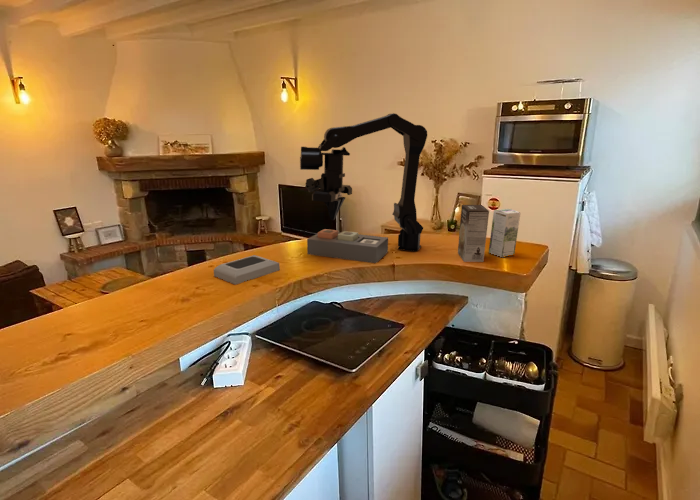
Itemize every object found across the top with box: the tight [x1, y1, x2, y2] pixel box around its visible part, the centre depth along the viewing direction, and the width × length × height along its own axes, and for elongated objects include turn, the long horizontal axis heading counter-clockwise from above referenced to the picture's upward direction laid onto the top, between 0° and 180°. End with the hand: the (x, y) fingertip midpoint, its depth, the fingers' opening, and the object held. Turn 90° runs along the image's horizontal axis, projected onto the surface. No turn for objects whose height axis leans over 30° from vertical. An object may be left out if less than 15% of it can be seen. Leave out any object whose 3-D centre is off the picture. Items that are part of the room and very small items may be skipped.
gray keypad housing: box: [306, 231, 389, 264], centre depth 134 cm, size 23×12×5 cm, turn 69°
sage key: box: [338, 230, 359, 242], centre depth 133 cm, size 5×5×3 cm
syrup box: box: [488, 208, 521, 258], centre depth 133 cm, size 6×6×14 cm
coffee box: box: [457, 204, 490, 263], centre depth 129 cm, size 9×6×16 cm
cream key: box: [361, 239, 378, 244], centre depth 131 cm, size 5×5×3 cm
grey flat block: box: [213, 254, 281, 285], centre depth 116 cm, size 10×4×15 cm
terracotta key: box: [317, 228, 339, 239], centre depth 136 cm, size 5×5×3 cm
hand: (332, 219), depth 133 cm, fingers closed
